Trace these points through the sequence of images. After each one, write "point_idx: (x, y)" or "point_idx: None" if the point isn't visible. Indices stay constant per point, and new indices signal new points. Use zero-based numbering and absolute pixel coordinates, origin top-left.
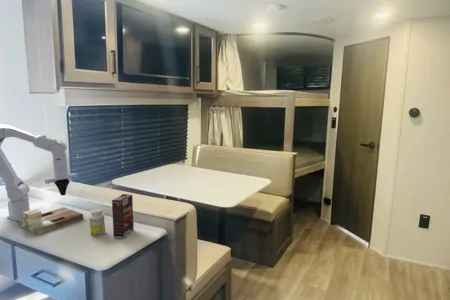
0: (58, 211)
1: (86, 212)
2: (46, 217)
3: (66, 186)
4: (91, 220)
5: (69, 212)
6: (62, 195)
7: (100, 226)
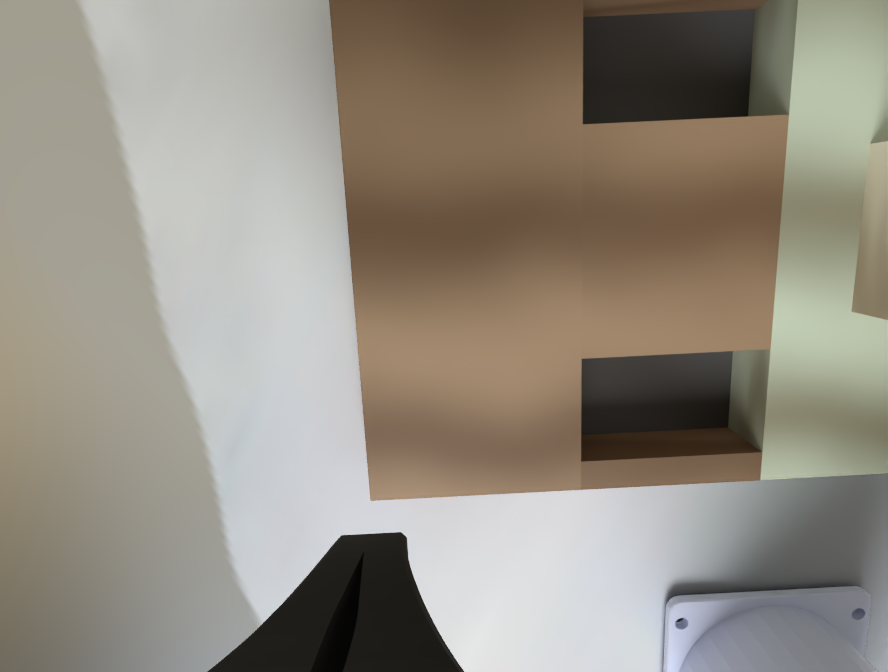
0: (507, 390)
1: (187, 219)
2: (731, 288)
3: (241, 669)
4: None
5: (429, 217)
6: (406, 540)
7: None
